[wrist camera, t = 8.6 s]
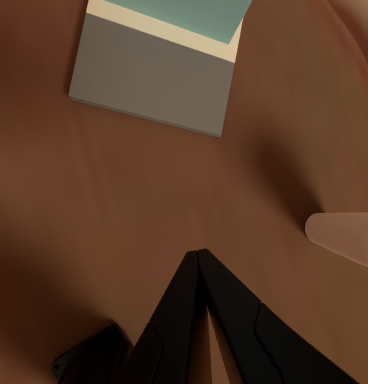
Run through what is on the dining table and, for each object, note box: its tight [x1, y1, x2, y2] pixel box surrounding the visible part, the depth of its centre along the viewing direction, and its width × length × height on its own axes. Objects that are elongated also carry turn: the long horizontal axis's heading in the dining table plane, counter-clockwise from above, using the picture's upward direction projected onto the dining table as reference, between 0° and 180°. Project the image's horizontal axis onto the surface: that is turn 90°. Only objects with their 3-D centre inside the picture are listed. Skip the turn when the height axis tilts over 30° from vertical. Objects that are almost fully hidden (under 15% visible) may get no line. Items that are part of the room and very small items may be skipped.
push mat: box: [68, 0, 243, 138], centre depth 19 cm, size 22×15×1 cm
